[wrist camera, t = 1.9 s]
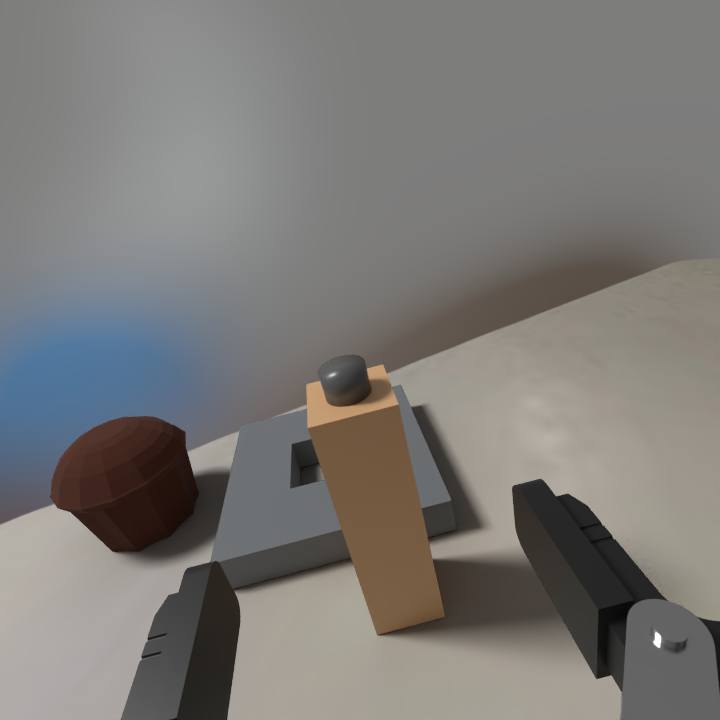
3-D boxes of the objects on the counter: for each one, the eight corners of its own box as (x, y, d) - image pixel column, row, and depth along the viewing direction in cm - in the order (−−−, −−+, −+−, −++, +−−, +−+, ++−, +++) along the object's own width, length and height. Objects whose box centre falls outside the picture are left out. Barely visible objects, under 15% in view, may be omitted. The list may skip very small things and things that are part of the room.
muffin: (220, 463, 48) (184, 385, 44) (201, 543, 38) (151, 452, 34) (113, 491, 48) (66, 416, 43) (65, 580, 38) (-2, 493, 33)
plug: (427, 559, 32) (377, 338, 24) (445, 616, 28) (392, 375, 20) (367, 574, 31) (298, 359, 24) (377, 635, 27) (297, 399, 20)
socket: (405, 407, 49) (400, 384, 48) (456, 529, 33) (451, 500, 32) (249, 448, 49) (240, 426, 48) (224, 591, 33) (209, 564, 32)
